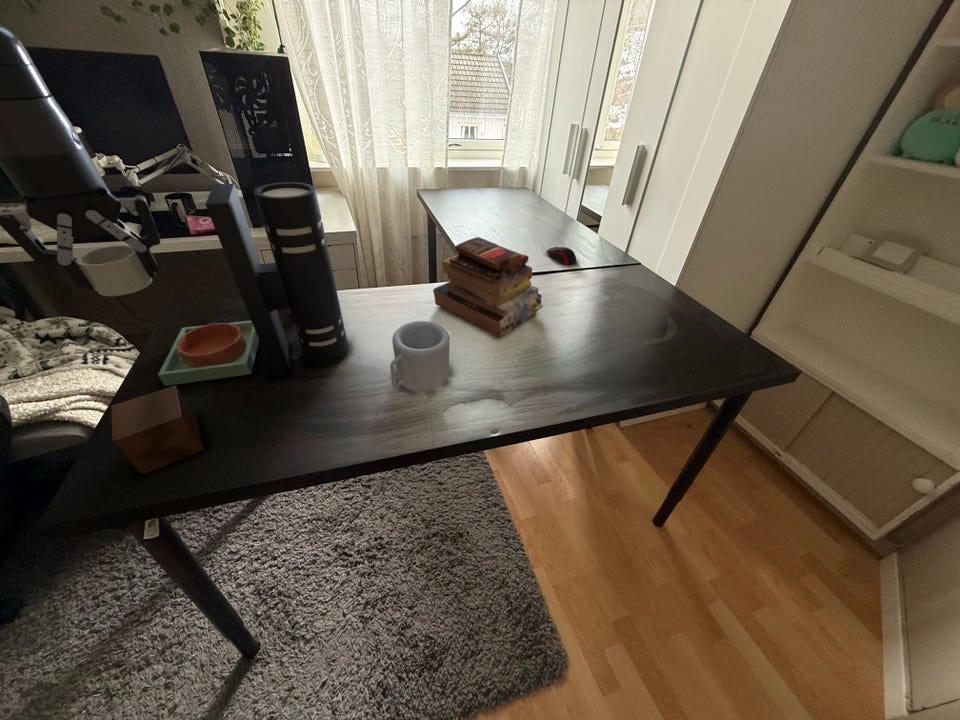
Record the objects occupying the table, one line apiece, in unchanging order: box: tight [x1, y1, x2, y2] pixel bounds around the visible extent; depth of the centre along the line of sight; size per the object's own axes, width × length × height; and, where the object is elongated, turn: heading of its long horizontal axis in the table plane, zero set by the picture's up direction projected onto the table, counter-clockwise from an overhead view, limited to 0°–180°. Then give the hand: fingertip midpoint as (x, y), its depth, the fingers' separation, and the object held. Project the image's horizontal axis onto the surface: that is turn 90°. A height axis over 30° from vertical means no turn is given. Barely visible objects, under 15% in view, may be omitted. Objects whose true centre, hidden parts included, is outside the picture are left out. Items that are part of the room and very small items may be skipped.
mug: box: [390, 320, 451, 392], centre depth 73 cm, size 14×11×10 cm
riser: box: [111, 385, 205, 475], centre depth 58 cm, size 8×8×8 cm
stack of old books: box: [432, 236, 544, 339], centre depth 92 cm, size 23×18×17 cm
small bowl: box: [76, 244, 153, 297], centre depth 51 cm, size 6×6×4 cm
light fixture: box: [204, 181, 350, 378], centre depth 69 cm, size 10×15×33 cm
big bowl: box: [176, 322, 246, 368], centre depth 76 cm, size 11×11×4 cm
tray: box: [157, 320, 260, 387], centre depth 77 cm, size 16×15×3 cm
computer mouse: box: [546, 246, 577, 265], centre depth 125 cm, size 6×11×4 cm, turn 32°
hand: (122, 280), depth 52 cm, fingers closed on small bowl, 6 cm apart
